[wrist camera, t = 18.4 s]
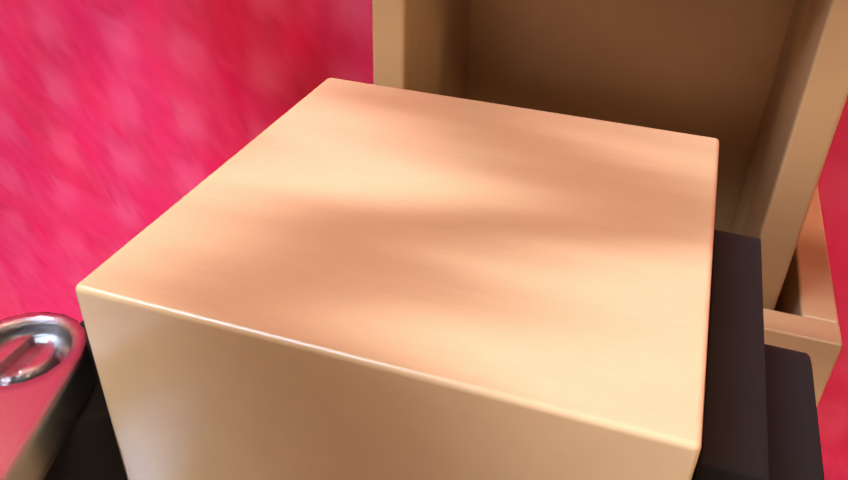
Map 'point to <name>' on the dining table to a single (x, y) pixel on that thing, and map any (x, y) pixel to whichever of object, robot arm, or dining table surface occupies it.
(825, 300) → the cabinet
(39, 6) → the dining table surface
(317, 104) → the block
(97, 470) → the robot arm
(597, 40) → the drawer
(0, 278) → the dining table surface
